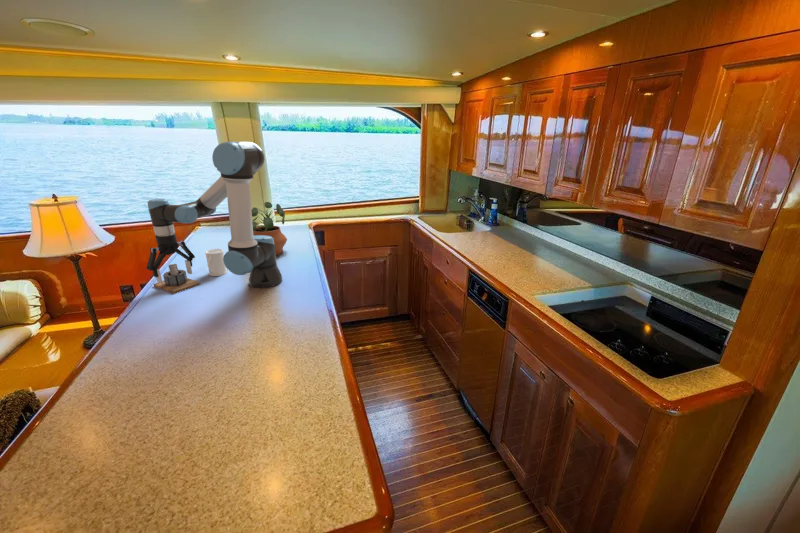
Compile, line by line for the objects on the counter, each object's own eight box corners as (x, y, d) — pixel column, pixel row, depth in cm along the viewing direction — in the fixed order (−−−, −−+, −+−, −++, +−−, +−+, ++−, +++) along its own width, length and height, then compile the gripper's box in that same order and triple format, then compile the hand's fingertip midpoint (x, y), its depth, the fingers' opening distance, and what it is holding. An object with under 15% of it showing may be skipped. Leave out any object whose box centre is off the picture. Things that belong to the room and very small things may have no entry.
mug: (218, 279, 166) (213, 256, 161) (201, 278, 166) (196, 255, 162) (230, 270, 177) (227, 248, 172) (215, 269, 177) (211, 248, 173)
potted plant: (291, 255, 200) (286, 206, 190) (240, 262, 188) (231, 209, 178) (285, 245, 219) (280, 199, 209) (238, 250, 207) (230, 202, 197)
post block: (200, 284, 159) (196, 264, 156) (174, 293, 149) (169, 272, 146) (180, 277, 166) (175, 258, 162) (154, 286, 156) (148, 265, 152)
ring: (191, 281, 159) (188, 271, 157) (172, 288, 152) (170, 277, 150) (180, 278, 163) (178, 268, 161) (162, 284, 156) (159, 274, 154)
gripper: (187, 227, 161) (196, 268, 168) (128, 239, 140) (141, 285, 147) (197, 229, 157) (205, 271, 165) (138, 242, 137) (151, 289, 144)
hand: (175, 278), depth 156 cm, fingers open, 13 cm apart
